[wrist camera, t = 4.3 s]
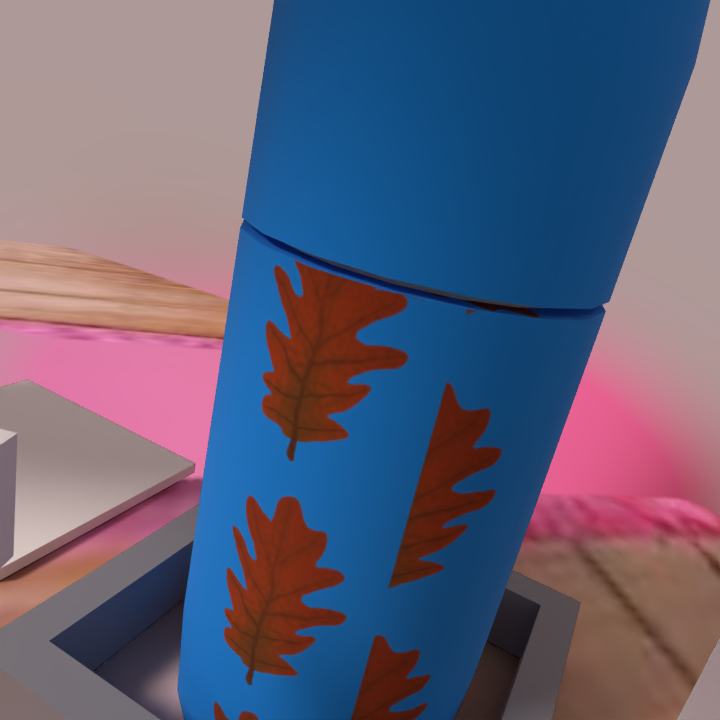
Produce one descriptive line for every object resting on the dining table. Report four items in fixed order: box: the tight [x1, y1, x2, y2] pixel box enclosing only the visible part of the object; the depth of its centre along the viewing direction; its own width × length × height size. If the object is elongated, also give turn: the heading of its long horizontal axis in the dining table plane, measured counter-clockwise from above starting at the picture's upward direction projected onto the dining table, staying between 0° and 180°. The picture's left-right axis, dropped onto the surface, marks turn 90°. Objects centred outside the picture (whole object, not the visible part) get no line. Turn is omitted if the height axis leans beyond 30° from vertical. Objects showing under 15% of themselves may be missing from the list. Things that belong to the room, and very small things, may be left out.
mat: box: [0, 380, 195, 580], centre depth 33 cm, size 14×12×1 cm
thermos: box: [178, 0, 710, 720], centre depth 20 cm, size 11×11×25 cm
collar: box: [0, 505, 581, 720], centre depth 24 cm, size 16×16×3 cm
